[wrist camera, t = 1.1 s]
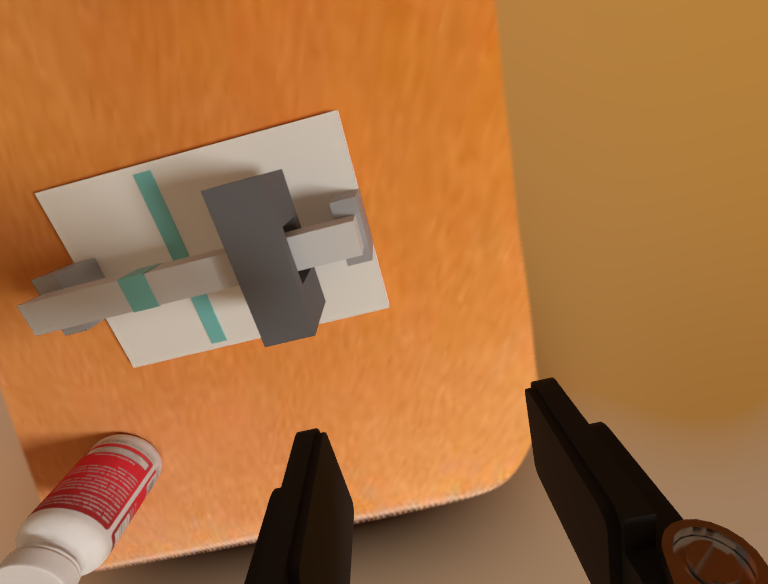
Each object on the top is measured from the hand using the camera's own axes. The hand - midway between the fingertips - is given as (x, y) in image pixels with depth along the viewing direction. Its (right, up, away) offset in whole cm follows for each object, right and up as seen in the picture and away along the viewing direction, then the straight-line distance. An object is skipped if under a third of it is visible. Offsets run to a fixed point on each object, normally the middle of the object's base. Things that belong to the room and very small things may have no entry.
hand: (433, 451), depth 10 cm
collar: (-8, +7, +15) cm, 18 cm away
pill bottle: (-24, -11, +25) cm, 36 cm away
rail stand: (-13, +7, +18) cm, 23 cm away
